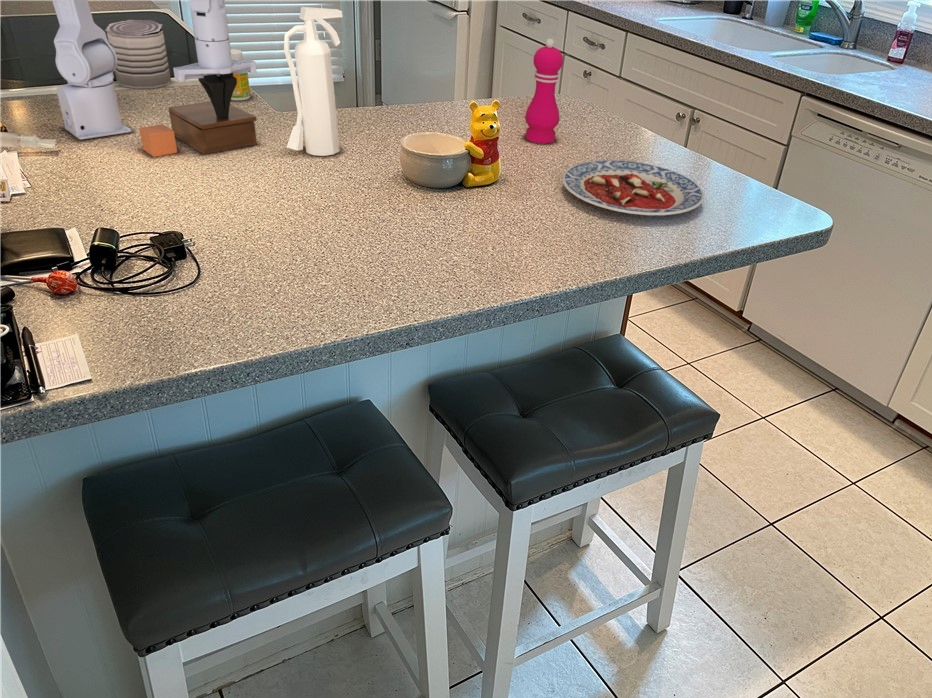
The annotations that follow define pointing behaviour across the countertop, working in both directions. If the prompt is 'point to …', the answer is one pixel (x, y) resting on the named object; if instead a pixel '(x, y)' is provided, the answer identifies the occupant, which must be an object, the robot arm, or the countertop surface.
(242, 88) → the supplement bottle
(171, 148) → the block
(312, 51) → the fire extinguisher
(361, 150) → the countertop surface
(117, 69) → the can
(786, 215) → the countertop surface
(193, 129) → the box
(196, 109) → the lid
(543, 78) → the pepper mill
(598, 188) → the ceramic plate
